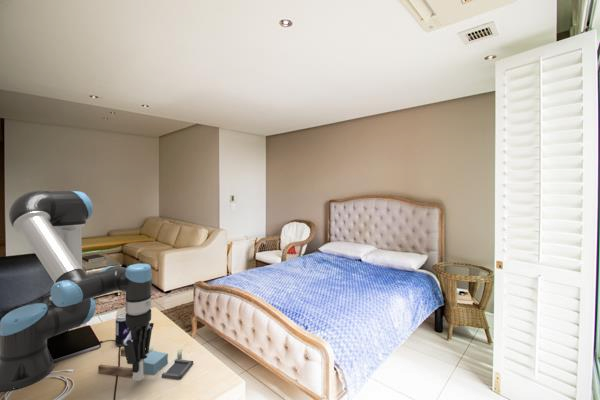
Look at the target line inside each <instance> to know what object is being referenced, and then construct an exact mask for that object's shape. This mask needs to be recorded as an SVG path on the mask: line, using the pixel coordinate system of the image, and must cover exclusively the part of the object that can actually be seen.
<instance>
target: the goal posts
mask: <svg viewBox="0 0 600 400" xmlns="http://www.w3.org/2000/svg"><path fill="white" fill-rule="evenodd" d="M154 347H155V346H149V351H155V350H154ZM176 352H177V355H176V357H177V358H176V359H179V360H182V355H183V349H178V350H177V351H176Z"/></svg>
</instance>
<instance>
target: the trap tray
mask: <svg viewBox="0 0 600 400" xmlns="http://www.w3.org/2000/svg"><path fill="white" fill-rule="evenodd" d="M193 365H194V360H188V359H177V358H176V359H174V362H173V364H172V366H170V367H169V368H168V370H167V371H166V372H163V373H162V374H161V378H162V379H169V380H177V381H178V380H179V381H181V380H182V378H183V377H184V376H185V375H186V374H187V372H188V371H189V370H190V369H191V368H192V367H193Z"/></svg>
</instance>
